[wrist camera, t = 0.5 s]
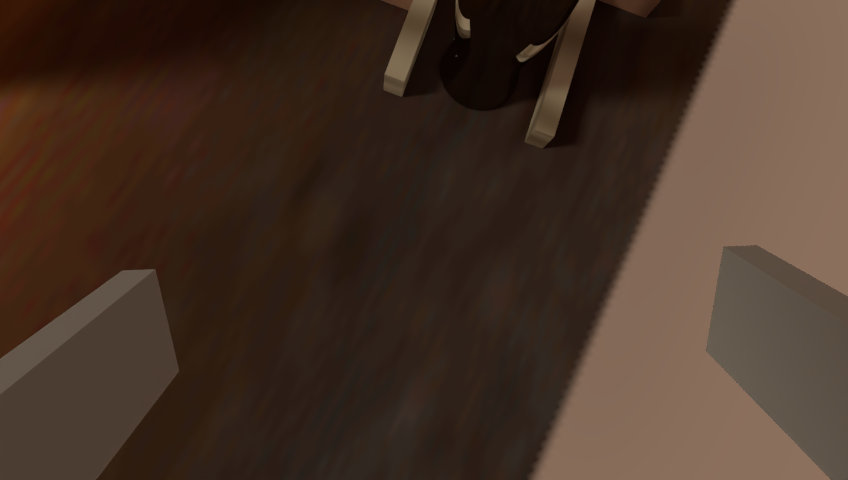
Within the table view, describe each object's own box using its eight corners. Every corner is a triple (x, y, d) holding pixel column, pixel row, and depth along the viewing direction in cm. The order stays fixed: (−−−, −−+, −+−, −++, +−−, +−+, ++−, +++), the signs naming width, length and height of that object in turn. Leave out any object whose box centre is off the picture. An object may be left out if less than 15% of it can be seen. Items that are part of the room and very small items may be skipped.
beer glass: (497, 20, 41) (570, -150, 26) (537, 96, 40) (634, -35, 26) (419, 51, 40) (450, -109, 25) (458, 129, 39) (514, 11, 25)
